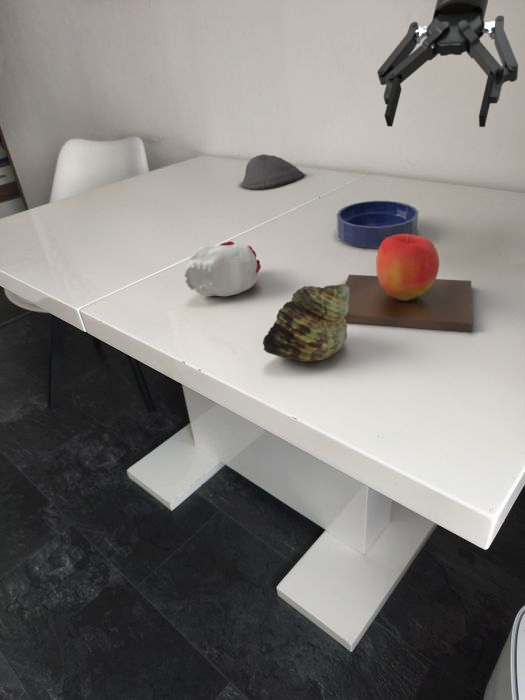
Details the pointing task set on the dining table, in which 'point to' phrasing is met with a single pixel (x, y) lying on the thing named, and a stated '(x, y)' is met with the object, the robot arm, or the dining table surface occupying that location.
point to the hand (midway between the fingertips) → (433, 121)
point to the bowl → (375, 222)
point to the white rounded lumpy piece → (222, 269)
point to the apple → (406, 266)
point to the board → (411, 305)
